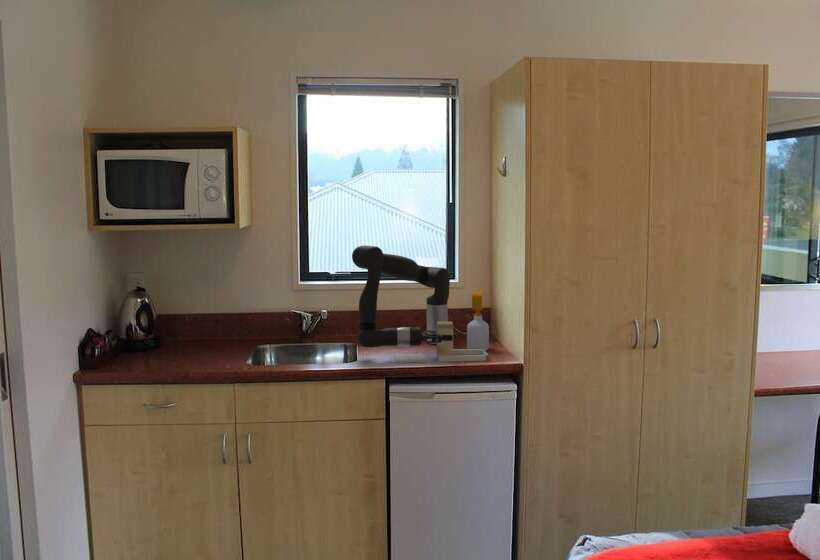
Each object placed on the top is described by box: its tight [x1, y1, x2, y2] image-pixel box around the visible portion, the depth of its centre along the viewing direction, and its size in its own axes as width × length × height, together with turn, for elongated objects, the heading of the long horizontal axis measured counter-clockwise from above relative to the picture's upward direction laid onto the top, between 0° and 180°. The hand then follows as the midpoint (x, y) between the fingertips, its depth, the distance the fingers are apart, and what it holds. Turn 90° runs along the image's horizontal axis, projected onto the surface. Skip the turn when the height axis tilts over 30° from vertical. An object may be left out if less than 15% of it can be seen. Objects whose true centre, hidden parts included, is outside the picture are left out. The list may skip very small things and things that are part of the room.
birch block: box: [436, 321, 454, 357], centre depth 254 cm, size 5×6×13 cm
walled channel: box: [437, 348, 490, 362], centre depth 255 cm, size 11×20×2 cm, turn 92°
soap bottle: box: [466, 290, 490, 352], centre depth 268 cm, size 9×9×25 cm
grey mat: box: [394, 353, 427, 363], centre depth 254 cm, size 12×12×1 cm
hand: (451, 336), depth 254 cm, fingers closed on birch block, 5 cm apart
